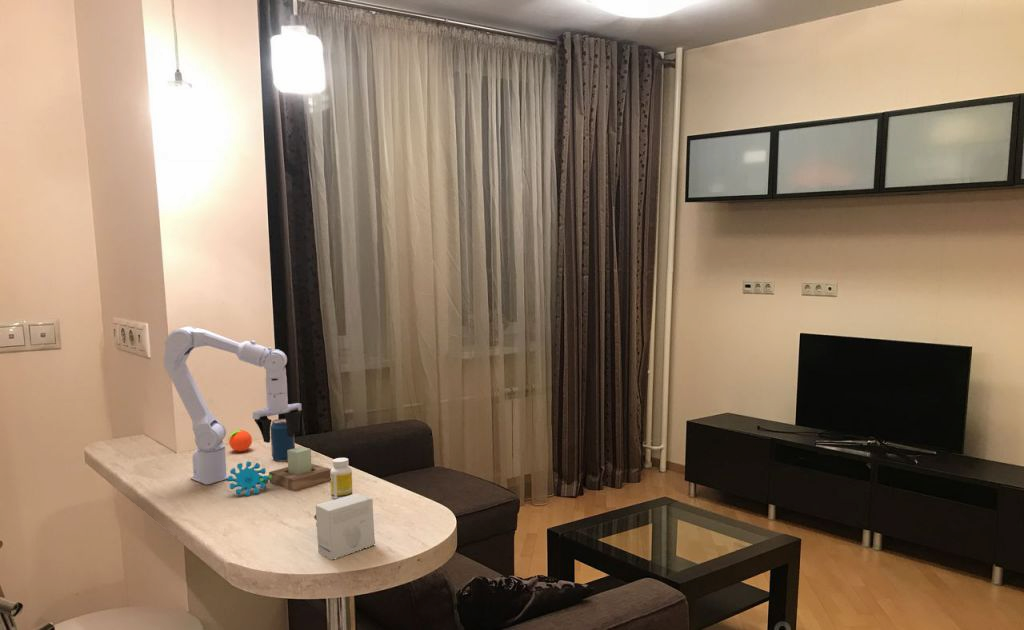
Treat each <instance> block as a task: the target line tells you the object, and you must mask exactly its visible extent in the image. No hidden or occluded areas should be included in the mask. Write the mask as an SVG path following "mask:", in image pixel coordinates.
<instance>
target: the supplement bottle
mask: <svg viewBox="0 0 1024 630" xmlns="http://www.w3.org/2000/svg"><path fill="white" fill-rule="evenodd" d="M332 466H333V467H332V468H330V469H331V471H330V475H331V480H330V495H331V498H332V500H335V499H337V498H342V497H346V496H349V495H353V473H352V472H353V471H352V468H351V467H350V466H349V458H347V457H337V458H334V459H332Z"/></svg>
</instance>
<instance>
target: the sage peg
mask: <svg viewBox="0 0 1024 630" xmlns="http://www.w3.org/2000/svg"><path fill="white" fill-rule="evenodd" d="M287 454H288V460H287V467H288V473H290V474H293V475H301V474H304V473H308V472H311V471H312V468H311V463H312V449H311V448H307V447H303V446H298V447H295V448H294V449H290V450H287Z"/></svg>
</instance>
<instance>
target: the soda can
mask: <svg viewBox="0 0 1024 630" xmlns="http://www.w3.org/2000/svg"><path fill="white" fill-rule="evenodd" d="M295 443H296V442H295V435H294V436H293V437H289V436H288V435H287V424H286V419H285V418H280V419H279V418H278V419H274V420H272V421H271V426H270V444H271V457H272V459H274V461H276V462H284V461H288V454H287V450H290V449H294V448H296V447H295V446H296V444H295Z"/></svg>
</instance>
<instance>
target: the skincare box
mask: <svg viewBox="0 0 1024 630" xmlns="http://www.w3.org/2000/svg"><path fill="white" fill-rule="evenodd" d="M373 505H374V503H373V498H372V497H370V496H368V495H364V494H363V493H359V492H357V493H352V495H349V496H346V497H342V498H339V499H332V500H328V501H325V502H321V503H317V504H315V515H316V519H317V521H316V523H317V527H316V529H317V530H316V532H317V549H318V551H317V552H318V553H319V552H320V554H321V555H323V556H324V557H326V558H328V559H329V558H330V560H331V559H332V560H331V561H334V560H333V559H335V558H337V559H339V558H338V557H340V558H342V557H341V556H343V557H345V556H344V555H346V556H348V555H347V554H349V555H351V554H350V553H352V554H354V553H356V552H355V551H357V552H359V551H358V550H360V549H363V548H366V547H369V546H372V545H374V544H375V545H376V539H375V523H374V522H375V520H374V507H373ZM316 519H315V520H316ZM372 547H373V546H372ZM369 548H370V547H369ZM366 549H367V548H366ZM363 550H364V549H363ZM360 551H361V550H360ZM353 552H354V553H353ZM335 560H336V559H335Z"/></svg>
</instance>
